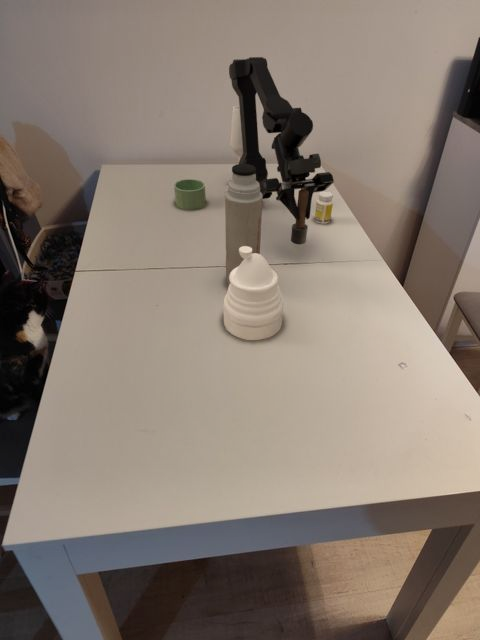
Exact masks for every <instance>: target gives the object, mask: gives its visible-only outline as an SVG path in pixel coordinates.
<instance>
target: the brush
mask: <svg viewBox="0 0 480 640" xmlns="http://www.w3.org/2000/svg"><path fill="white" fill-rule="evenodd" d="M308 194H309V192H308V191H307V190H301V189H298V195H297V203H296V204H297V208H298V211H299V216H300V219H299V220H298V221H297V220H296V219H295V223H293V224H292V225H291V232H290V242H291V243H292V244H294V245H304V244H306V242H307V238H308V231H309V230H308V229H309V226H308V224H306V220H307V219H306V211H307V203H308Z"/></svg>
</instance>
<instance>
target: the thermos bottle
mask: <svg viewBox="0 0 480 640" xmlns="http://www.w3.org/2000/svg"><path fill="white" fill-rule="evenodd" d="M231 172H232V174H231V175H232V177H231V178H232V179H231V180H229V181H228V183H227V185H228V186H227V191H225V192H224V193H225V194H224V212H225V213H224V215H225V218H224V219H225V220H224V221H225V224H224V225H225V228H224V229H225V284H226V286H227V288H228V287H229V285H230V280H229V275H230V273H231V271H232V270H233V269H235V268H236V267H238V266H240V264H241V263H242V261H243V260H244V258H242V257H241V255H240V253H239V248H240V247H242V246H248V247H251V248H252V253H258V254H260V255H261V242H262V241H261V239H262V221H263V220H262V219H263V217H262V216H263V199H262V198H263V196H262V193H261V192H260V184H259V182H257V181H256V174H255V173H256V168H255V167H254V166H252V165H249V164H239V163H238V164H234V165H233V166H231Z"/></svg>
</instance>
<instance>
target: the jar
mask: <svg viewBox="0 0 480 640" xmlns="http://www.w3.org/2000/svg"><path fill="white" fill-rule="evenodd" d="M173 189H174V200H175V206H176V207H177V208H179V209H181V210H185V211H194V210H195V211H197V210H200V209H203V208H204V207H205V206H206V204H207V199H206V196H207V195H206V184H205V182H203V181H202V180H200V179H194V178H185V179H180V180H178V181H176V182H174V184H173Z"/></svg>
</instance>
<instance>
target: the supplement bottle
mask: <svg viewBox="0 0 480 640" xmlns="http://www.w3.org/2000/svg"><path fill="white" fill-rule="evenodd" d="M333 204H334V201H333V193H332V192H331V191H327V190H325V191H322V192H318V198H317V200H316V205H315V212H314V213H315V214H314V221H315V222H316V223H317V224H324V225H325V224H329V223H330V222H331V218H332V212H333Z"/></svg>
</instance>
